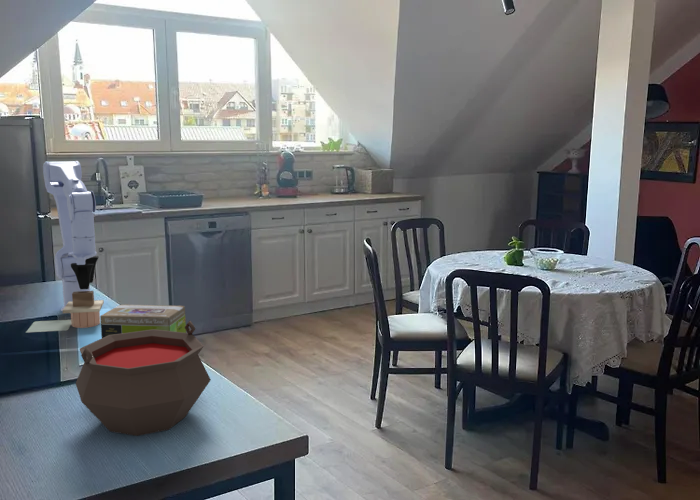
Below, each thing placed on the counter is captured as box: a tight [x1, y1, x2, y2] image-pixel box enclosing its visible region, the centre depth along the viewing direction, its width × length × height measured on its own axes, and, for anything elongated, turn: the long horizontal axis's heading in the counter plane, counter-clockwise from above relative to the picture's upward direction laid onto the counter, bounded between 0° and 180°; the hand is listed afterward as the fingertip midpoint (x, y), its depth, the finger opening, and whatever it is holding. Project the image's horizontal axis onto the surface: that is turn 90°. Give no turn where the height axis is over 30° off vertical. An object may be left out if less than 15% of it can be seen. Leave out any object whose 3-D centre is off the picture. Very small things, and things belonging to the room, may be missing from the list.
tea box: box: [100, 304, 187, 339], centre depth 141 cm, size 15×10×15 cm, turn 84°
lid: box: [62, 290, 104, 314], centre depth 176 cm, size 9×9×4 cm
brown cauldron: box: [75, 320, 211, 437], centre depth 120 cm, size 24×24×16 cm
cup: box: [70, 312, 101, 329], centre depth 177 cm, size 7×7×5 cm
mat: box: [25, 319, 72, 334], centre depth 175 cm, size 10×10×1 cm
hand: (86, 285), depth 180 cm, fingers open, 7 cm apart
